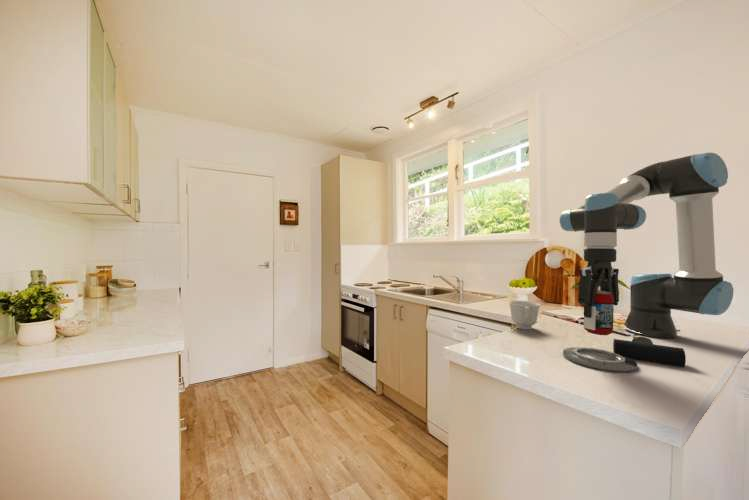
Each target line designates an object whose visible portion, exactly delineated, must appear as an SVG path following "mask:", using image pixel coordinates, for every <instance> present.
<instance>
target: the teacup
mask: <svg viewBox="0 0 749 500" xmlns="http://www.w3.org/2000/svg"><path fill="white" fill-rule="evenodd" d="M507 303H508V305H509V308H510V315H511V320H512V322H513V323H514V324H516V325H515V327H516V328H517V329H520V330H521V329H522V330H532V329H533V328H532V326H535V324H537V321H538V315H539V310H540V307H541V306H542V305H541V303H538V302H534V301H527V300H526V301H525V300H511V301H508V302H507Z"/></svg>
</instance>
